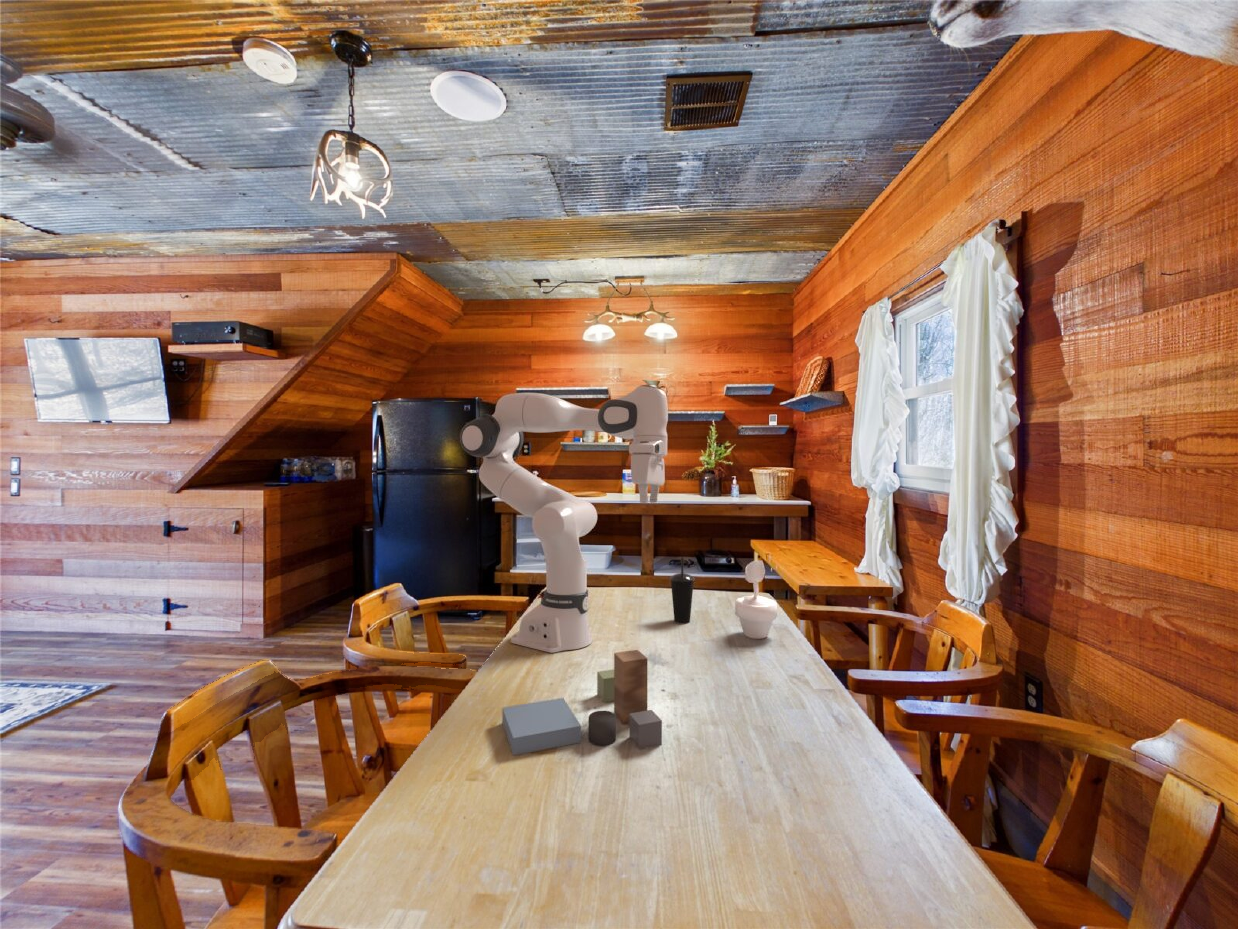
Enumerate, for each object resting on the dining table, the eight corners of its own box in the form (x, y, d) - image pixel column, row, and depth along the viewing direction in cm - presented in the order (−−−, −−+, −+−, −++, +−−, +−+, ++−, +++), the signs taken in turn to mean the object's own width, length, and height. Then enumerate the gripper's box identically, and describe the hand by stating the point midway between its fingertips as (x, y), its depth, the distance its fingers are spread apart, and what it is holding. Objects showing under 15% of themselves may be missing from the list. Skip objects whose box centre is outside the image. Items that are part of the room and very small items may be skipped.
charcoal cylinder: (583, 743, 97) (583, 721, 96) (595, 730, 101) (595, 708, 101) (609, 748, 95) (609, 726, 95) (620, 735, 99) (620, 713, 99)
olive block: (603, 703, 112) (603, 679, 112) (597, 695, 116) (597, 671, 116) (621, 699, 114) (621, 676, 114) (614, 692, 118) (614, 669, 117)
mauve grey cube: (638, 750, 94) (638, 724, 94) (629, 737, 98) (629, 713, 98) (661, 745, 96) (661, 720, 96) (651, 733, 100) (651, 709, 100)
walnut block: (623, 724, 103) (623, 661, 103) (614, 713, 108) (614, 653, 108) (647, 720, 105) (647, 658, 105) (637, 708, 110) (637, 649, 109)
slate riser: (513, 755, 92) (513, 738, 92) (502, 723, 103) (502, 707, 103) (580, 742, 97) (580, 725, 97) (563, 712, 108) (563, 697, 108)
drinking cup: (665, 622, 167) (666, 558, 166) (675, 616, 173) (675, 554, 173) (689, 626, 163) (689, 560, 163) (697, 619, 170) (698, 556, 170)
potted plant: (778, 644, 148) (779, 552, 148) (735, 641, 150) (735, 551, 150) (775, 629, 160) (775, 545, 160) (734, 627, 163) (735, 544, 162)
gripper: (648, 452, 150) (647, 502, 149) (626, 445, 130) (625, 502, 130) (670, 452, 148) (669, 502, 147) (652, 445, 128) (651, 503, 128)
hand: (648, 502), depth 138 cm, fingers open, 8 cm apart
